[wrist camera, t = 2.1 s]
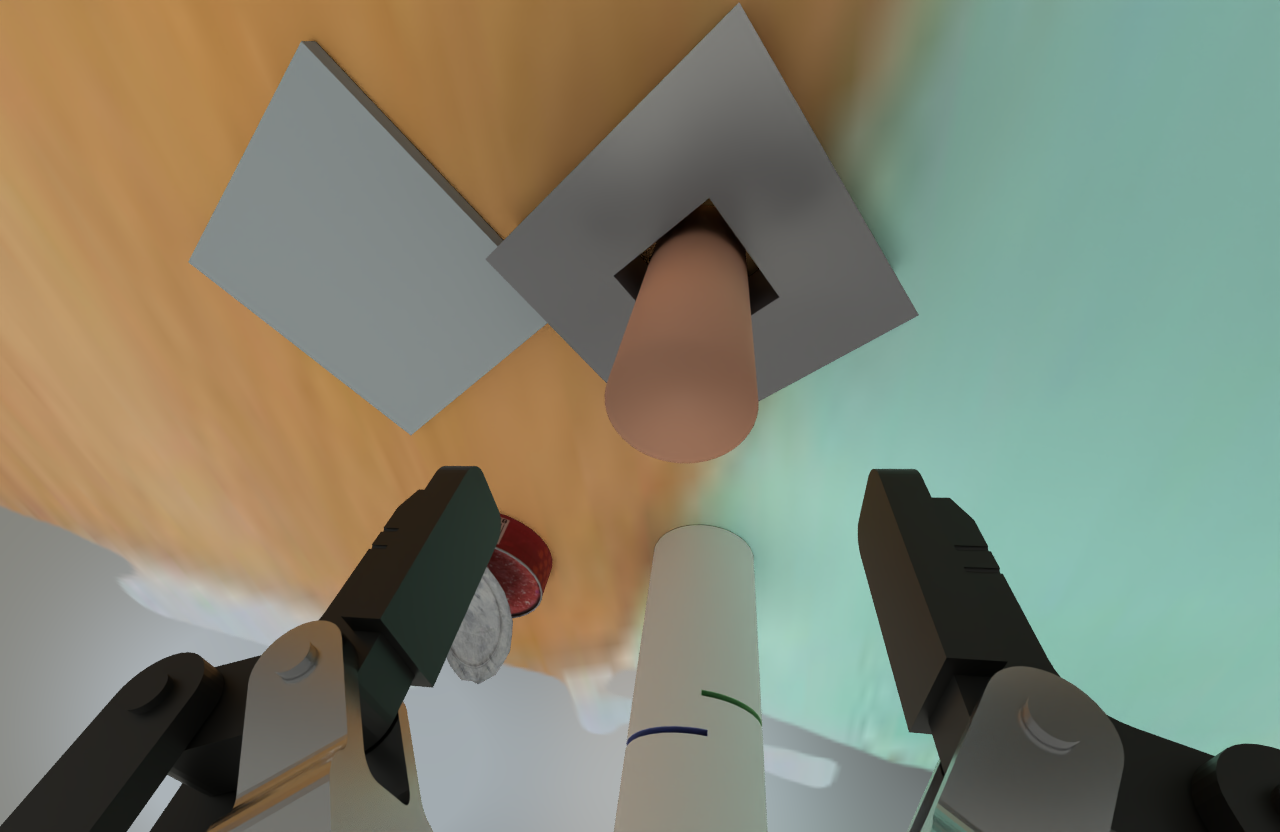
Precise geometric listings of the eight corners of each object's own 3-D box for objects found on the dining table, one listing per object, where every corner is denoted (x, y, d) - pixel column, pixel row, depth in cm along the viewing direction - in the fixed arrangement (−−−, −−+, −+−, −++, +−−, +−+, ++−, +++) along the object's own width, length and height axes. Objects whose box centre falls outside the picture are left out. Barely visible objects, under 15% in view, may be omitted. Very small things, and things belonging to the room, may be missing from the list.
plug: (710, 184, 21) (695, 306, 11) (762, 259, 22) (788, 422, 13) (638, 243, 22) (574, 391, 13) (691, 308, 24) (667, 482, 15)
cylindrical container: (648, 523, 34) (541, 1182, 14) (753, 526, 33) (793, 1257, 13) (659, 585, 38) (588, 1159, 19) (753, 589, 37) (783, 1215, 17)
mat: (315, 41, 19) (301, 41, 19) (564, 305, 25) (560, 312, 24) (201, 256, 26) (188, 261, 25) (417, 427, 32) (410, 435, 31)
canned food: (494, 536, 45) (402, 625, 40) (459, 465, 39) (342, 560, 33) (587, 601, 40) (497, 714, 35) (566, 532, 33) (449, 659, 28)
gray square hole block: (736, 9, 17) (738, 2, 14) (891, 275, 22) (918, 315, 19) (518, 229, 23) (485, 259, 20) (677, 402, 27) (670, 448, 24)
